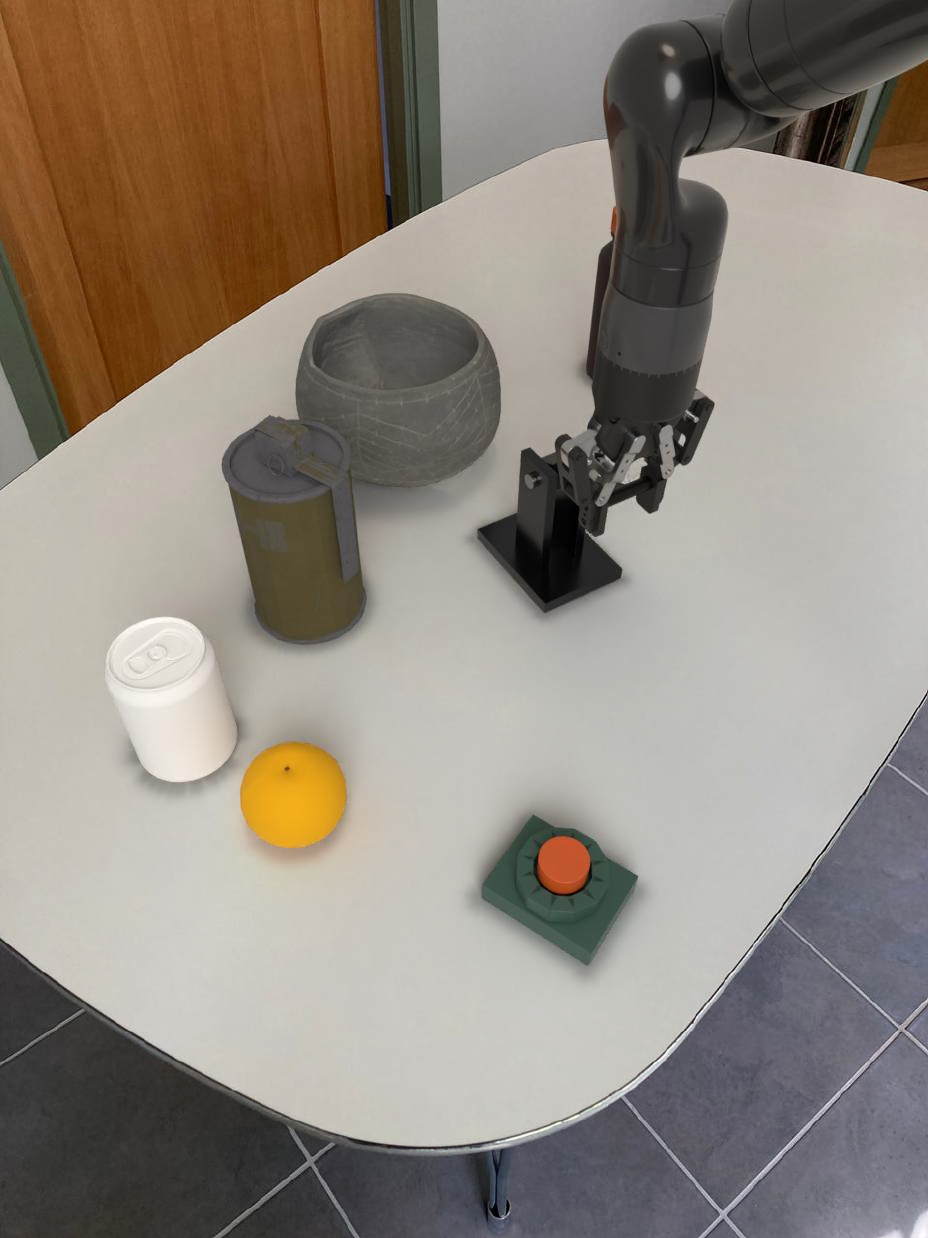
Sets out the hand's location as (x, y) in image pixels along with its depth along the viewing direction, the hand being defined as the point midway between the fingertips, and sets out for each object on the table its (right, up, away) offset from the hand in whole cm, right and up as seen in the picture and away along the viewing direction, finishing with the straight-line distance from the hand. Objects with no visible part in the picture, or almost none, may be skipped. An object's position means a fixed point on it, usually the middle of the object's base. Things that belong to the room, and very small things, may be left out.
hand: (619, 517), depth 80 cm
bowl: (-20, +9, +25) cm, 33 cm away
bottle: (+5, +21, +36) cm, 42 cm away
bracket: (-5, -2, +14) cm, 15 cm away
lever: (-2, +2, +3) cm, 4 cm away
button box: (-6, -29, -9) cm, 31 cm away
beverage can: (-36, -19, -1) cm, 41 cm away
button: (-6, -26, -12) cm, 30 cm away
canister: (-27, -7, +10) cm, 30 cm away
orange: (-26, -24, -5) cm, 36 cm away
